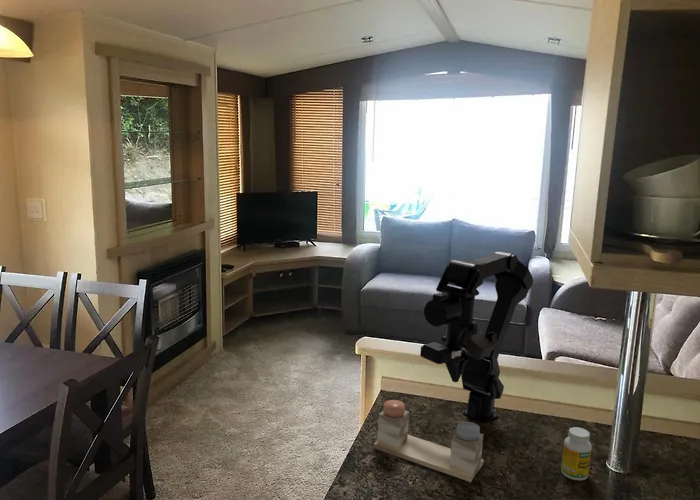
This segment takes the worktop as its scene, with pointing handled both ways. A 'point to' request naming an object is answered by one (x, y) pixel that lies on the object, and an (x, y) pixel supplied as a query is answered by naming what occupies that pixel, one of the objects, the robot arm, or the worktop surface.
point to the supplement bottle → (576, 454)
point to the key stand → (429, 448)
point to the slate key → (468, 431)
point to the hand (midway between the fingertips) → (455, 381)
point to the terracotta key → (394, 408)
